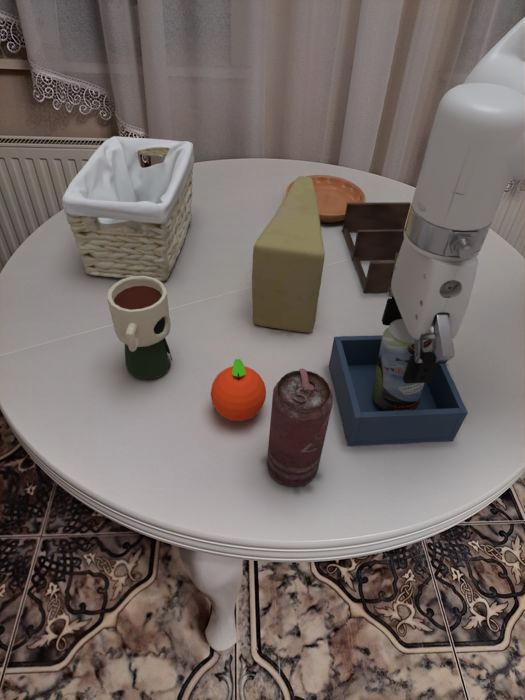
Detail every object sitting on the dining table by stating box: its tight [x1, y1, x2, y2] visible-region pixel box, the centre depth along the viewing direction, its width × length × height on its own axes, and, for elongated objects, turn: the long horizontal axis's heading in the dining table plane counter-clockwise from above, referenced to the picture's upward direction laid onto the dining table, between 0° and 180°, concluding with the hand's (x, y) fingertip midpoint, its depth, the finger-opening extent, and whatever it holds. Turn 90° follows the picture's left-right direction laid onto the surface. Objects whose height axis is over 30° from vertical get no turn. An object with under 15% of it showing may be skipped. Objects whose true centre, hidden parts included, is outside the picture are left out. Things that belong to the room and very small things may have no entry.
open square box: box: [328, 334, 469, 447], centre depth 66 cm, size 14×14×6 cm
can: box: [266, 368, 334, 487], centre depth 56 cm, size 6×6×14 cm
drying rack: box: [341, 201, 412, 294], centre depth 89 cm, size 12×19×6 cm, turn 5°
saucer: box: [285, 174, 366, 224], centre depth 103 cm, size 16×16×3 cm
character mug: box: [107, 276, 173, 379], centre depth 66 cm, size 11×7×13 cm, turn 177°
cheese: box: [251, 175, 326, 333], centre depth 80 cm, size 22×10×15 cm, turn 170°
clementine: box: [210, 358, 267, 422], centre depth 64 cm, size 8×7×7 cm
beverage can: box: [372, 319, 434, 411], centre depth 63 cm, size 6×7×12 cm
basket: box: [61, 135, 195, 282], centre depth 87 cm, size 24×16×15 cm
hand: (404, 350), depth 61 cm, fingers open, 9 cm apart
